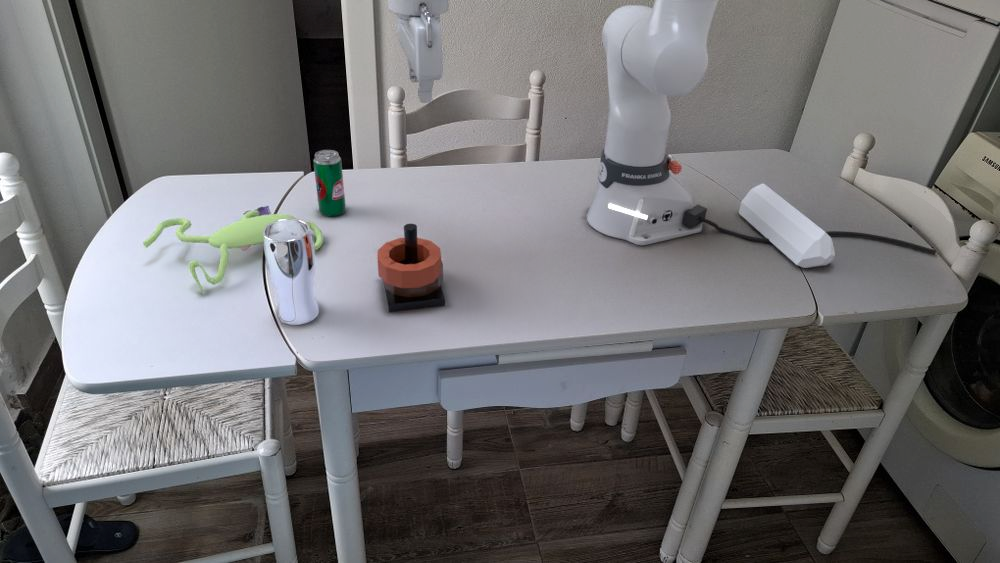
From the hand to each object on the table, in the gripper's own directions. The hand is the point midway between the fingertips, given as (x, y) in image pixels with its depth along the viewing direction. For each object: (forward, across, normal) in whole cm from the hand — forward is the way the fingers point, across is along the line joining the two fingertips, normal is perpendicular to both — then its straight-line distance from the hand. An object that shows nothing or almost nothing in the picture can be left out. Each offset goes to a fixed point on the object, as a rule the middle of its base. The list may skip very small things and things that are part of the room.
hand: (420, 90), depth 107 cm
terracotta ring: (+24, -13, +4) cm, 28 cm away
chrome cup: (+29, -15, +22) cm, 40 cm away
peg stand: (+29, -13, +4) cm, 32 cm away
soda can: (+29, +17, +15) cm, 37 cm away
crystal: (+29, -9, -68) cm, 75 cm away
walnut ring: (+28, -11, +4) cm, 30 cm away
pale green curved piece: (+29, +5, +32) cm, 44 cm away
